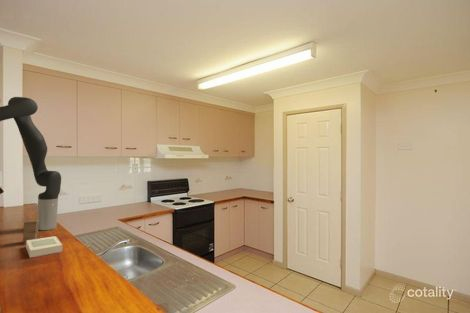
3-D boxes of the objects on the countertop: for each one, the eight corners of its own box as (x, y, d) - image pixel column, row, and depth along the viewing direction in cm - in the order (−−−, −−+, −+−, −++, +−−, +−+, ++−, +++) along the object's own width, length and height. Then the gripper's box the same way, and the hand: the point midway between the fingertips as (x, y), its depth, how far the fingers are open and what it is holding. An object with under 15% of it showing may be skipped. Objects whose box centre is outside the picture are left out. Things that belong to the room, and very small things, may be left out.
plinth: (25, 247, 113) (26, 240, 113) (55, 242, 121) (55, 235, 121) (30, 257, 102) (30, 249, 102) (62, 251, 109) (62, 244, 109)
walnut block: (25, 241, 121) (26, 220, 121) (37, 240, 123) (38, 219, 123) (22, 244, 117) (24, 222, 117) (35, 243, 119) (36, 222, 119)
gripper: (-16, 157, 104) (11, 188, 110) (-17, 158, 114) (8, 187, 120) (-39, 167, 100) (-9, 199, 106) (-37, 168, 110) (-10, 197, 115)
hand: (0, 192), depth 113 cm, fingers open, 8 cm apart
